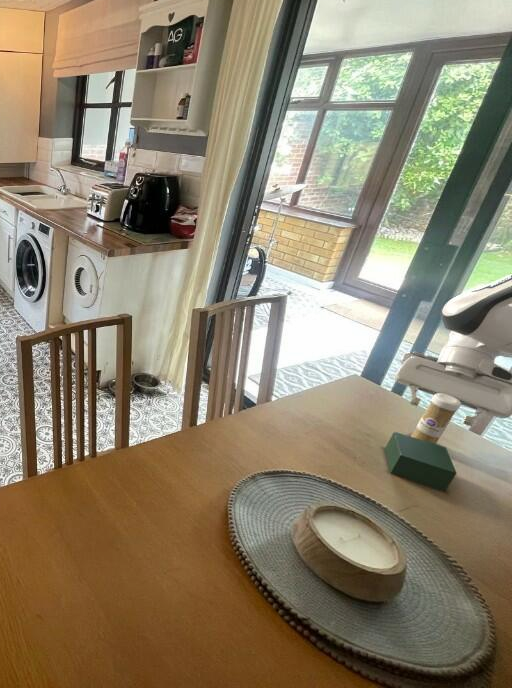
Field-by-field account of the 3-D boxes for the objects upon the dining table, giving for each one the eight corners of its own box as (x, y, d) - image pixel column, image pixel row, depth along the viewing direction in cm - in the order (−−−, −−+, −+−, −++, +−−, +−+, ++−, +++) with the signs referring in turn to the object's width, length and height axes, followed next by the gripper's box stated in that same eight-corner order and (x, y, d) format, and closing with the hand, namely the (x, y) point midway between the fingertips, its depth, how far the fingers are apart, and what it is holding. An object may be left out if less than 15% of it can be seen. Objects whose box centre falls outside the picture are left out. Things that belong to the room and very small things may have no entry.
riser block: (434, 464, 95) (445, 447, 93) (444, 491, 89) (456, 473, 86) (384, 448, 100) (394, 431, 98) (390, 473, 93) (400, 455, 91)
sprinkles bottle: (408, 440, 103) (433, 397, 97) (412, 432, 105) (436, 390, 99) (433, 451, 99) (460, 407, 94) (437, 442, 102) (463, 399, 96)
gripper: (408, 344, 106) (385, 390, 104) (530, 380, 92) (506, 433, 90) (404, 353, 110) (382, 397, 109) (519, 388, 96) (496, 439, 95)
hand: (439, 414), depth 99 cm, fingers open, 8 cm apart
